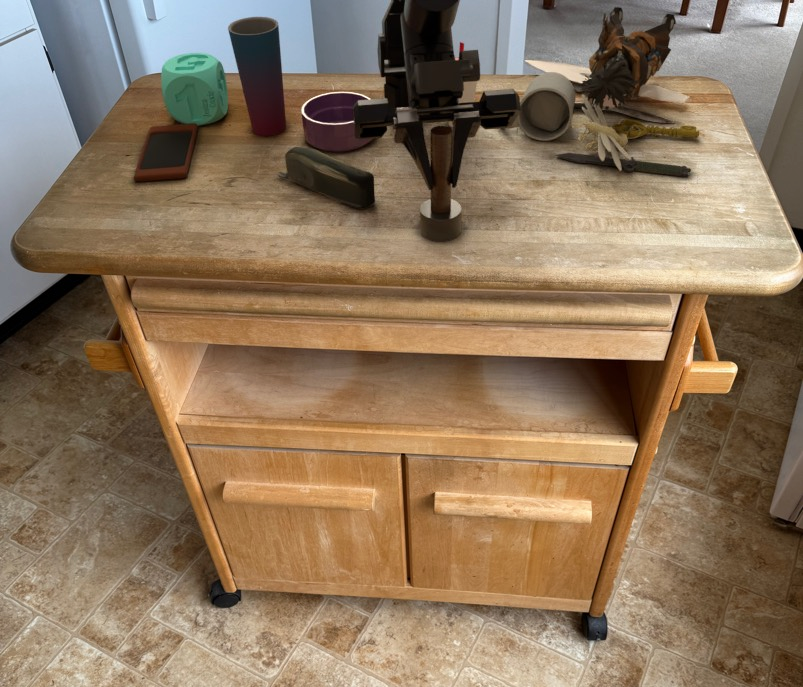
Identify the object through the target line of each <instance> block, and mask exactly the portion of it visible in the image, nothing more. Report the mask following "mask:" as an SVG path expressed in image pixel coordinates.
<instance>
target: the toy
mask: <svg viewBox="0 0 803 687" xmlns="http://www.w3.org/2000/svg"><path fill="white" fill-rule="evenodd" d="M581 98H582V101H583V103H585V105H586V107H587V109H588V110H586V109H585V108H584V107H582V110H581V111H583V113H584V114H585V116H586V117H587V118H588V120H589V121H586V122H580V123H578V124H577V125H576V126H575V125H572V129H577V130H578V129H579V128H580V127H582V126H584V127H585V129H584V131H583V132H582V134H581V133H580V134H578V137H577V140H578V141H580V140H581V138H582V141H585V139H586V138H587V137H590V136H591V135H593V134H594V135H593V137H592V142H588V143H586V144H585V146H584V148H585V149H586V150H587V149H588V147H589V148H592V147H593V145H594V144H596V143H597V145H596V146H594V147H593V148H592V149H590V150H589V151H588V152H589V153H590V154H592V152H593V151H594V150H595V149H597V150H596V151H594V152H593V155H596V154H598V156H599V158H600V159H601V160H602V161H604V159H605V157H606V150H607V152H608V153H610V154H611V158H613V160H614V163H615V164H616V166H615V167H616V168H617V169H618V171H619V172H622V171H623V169H622V168H621V163H620V159H621V158H620V157H619V155H618V151H620V153H621V154H622V155H623V156H624V157H625V158H626V159H628V161H630V160H632V159H631V157H632V156H631V155H630V154H629V153H628V152H627V151H626V150H625V148H626V145H627V144H628V142H629V140H628V138H627V135H626V134H623V133H622V134H620V135H618V132H617V131H615V130H614V129H613V128H612V126H609V125H608V123H607V120H606V118H605V115H604V113H603V110H601V108H600V106H599V105H597V107H596V104H595V105H594V107H595V111H594V110H593V108H592V107H591V105H590V104H591V102H590V101H588V100H587V98H588V97H587V96H586V95H584V94H582V96H581ZM594 102H595V99H594V101H593V104H594ZM635 125H636V124H635ZM635 125H634V126H635ZM634 126H633V127H634ZM636 127H637V126H636ZM631 128H632V127H631ZM631 128H630V127H629V129H631ZM587 130H588V132H587ZM639 130H640V129H639ZM629 131H630V130H628V132H629ZM586 132H587V133H586ZM627 134H628V133H627ZM639 135H640V134H639ZM639 135H638V136H639ZM638 136H636V137H637V138H639V137H638ZM596 137H597V139H596V140H595V138H596ZM636 137H634V138H633V139H637V138H636ZM617 150H618V151H617Z"/></svg>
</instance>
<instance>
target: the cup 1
mask: <svg viewBox="0 0 803 687" xmlns="http://www.w3.org/2000/svg"><path fill="white" fill-rule="evenodd" d="M227 31H228V34H229V39H230V43H231V46H232V50H233V55H234V59H235V64H236V68H237V71H238V75H239V80H240V84H241V88H242V92H243V96H244V101H245V105H246V110H247V113H248V117H249V121H250V125H251V130H252V133H254V134H256V135H257V136H262V137H271V136H276V135H279V134H281V133H283V132H284V131H285V130H286V129H287V119H286V118H287V117H286V105H285V93H284V92H285V91H284V79H283V68H282V67H283V66H282V65H283V64H282V55H281V53H282V52H281V41H280V40H281V39H280V29H279V22H278V21H277V19H274V18H272V17H268V16H248V17H243V18H240V19H236V20H234V21H233V22H231V23H229V25H228V26H227Z"/></svg>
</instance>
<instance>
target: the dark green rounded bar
mask: <svg viewBox="0 0 803 687" xmlns="http://www.w3.org/2000/svg"><path fill="white" fill-rule="evenodd" d="M284 158H285V159H284V160H285V167H286V173H285V172H282V171H279V172H278V173H277V177H279V178H281V179H284V180H287V181H290V182H292V183H295V184H298V185H300V186H302V187H305V188H307V189H309V190H312V191H314V192H317V193H319V194H321V195H324V196H325V197H328V198H330V199H332V200H334V201H336V202H339V203H341V204H343V205H346V206H348V207H350V208H353V209H359V210H360V209H367V208H370V207H371V206H373V205H374V204H375V203H376V196H375V195H376V194H375V193H376V192H375V176H374V174H373V173H371V172H369V171H367V170H363V169H361V168H358V167H356V166H353V165H351V164H349V163H347V162H344V161H341V160H340V159H339V160H338V159H336V158H334V157H331V156H329V155H327V154H326V153H323V152H322V151H320V150H317V149H315V148H312V147H303V146H293V147H292V148H290V149H289V150H287V151H286V153H285V155H284Z"/></svg>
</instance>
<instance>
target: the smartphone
mask: <svg viewBox="0 0 803 687" xmlns="http://www.w3.org/2000/svg"><path fill="white" fill-rule="evenodd" d="M198 128H199V125H198V126H197V124H195V123H192V124H182V123H180V124H179V123H178V124H168V125H165V124H164V125H154V126H151V127H149V130H148V132H147V135H146V137H145V141H144V143H143V147H142V149H141V153H140V156H139V159H138V162H137V165H136V168H135V171H134V175H133V180H134V181H135V182H150V181H163V180H175V179H185V178H186V177H187V176H188V173H189V168H190V166H191V165H190V164H191V160H192V155H193V151H194V147H195V142H196V138H197V133H198Z"/></svg>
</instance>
